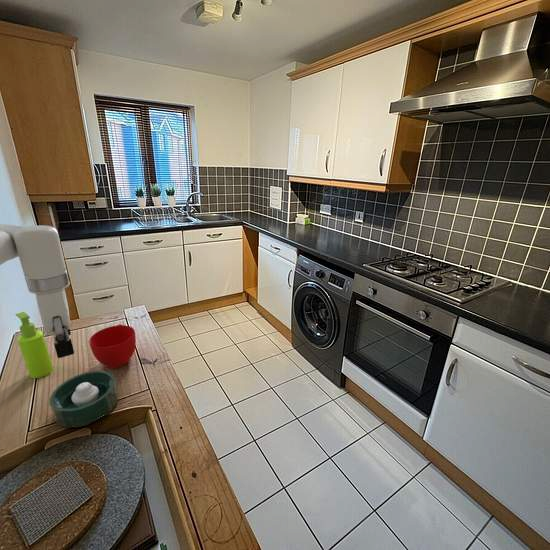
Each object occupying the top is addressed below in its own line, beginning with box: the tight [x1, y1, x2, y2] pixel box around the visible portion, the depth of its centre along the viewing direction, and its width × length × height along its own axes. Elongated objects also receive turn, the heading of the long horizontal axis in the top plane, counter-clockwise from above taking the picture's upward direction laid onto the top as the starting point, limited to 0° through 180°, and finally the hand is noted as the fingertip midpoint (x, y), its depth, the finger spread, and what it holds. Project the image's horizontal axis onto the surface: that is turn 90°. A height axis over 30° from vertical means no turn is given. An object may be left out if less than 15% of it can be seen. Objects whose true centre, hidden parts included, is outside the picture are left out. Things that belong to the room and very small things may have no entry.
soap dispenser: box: [15, 311, 54, 379], centre depth 88 cm, size 6×7×20 cm
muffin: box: [72, 382, 99, 407], centre depth 77 cm, size 6×6×7 cm
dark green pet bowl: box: [49, 370, 120, 428], centre depth 78 cm, size 15×15×6 cm
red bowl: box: [88, 323, 137, 369], centre depth 96 cm, size 13×17×10 cm
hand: (64, 345), depth 71 cm, fingers open, 9 cm apart
